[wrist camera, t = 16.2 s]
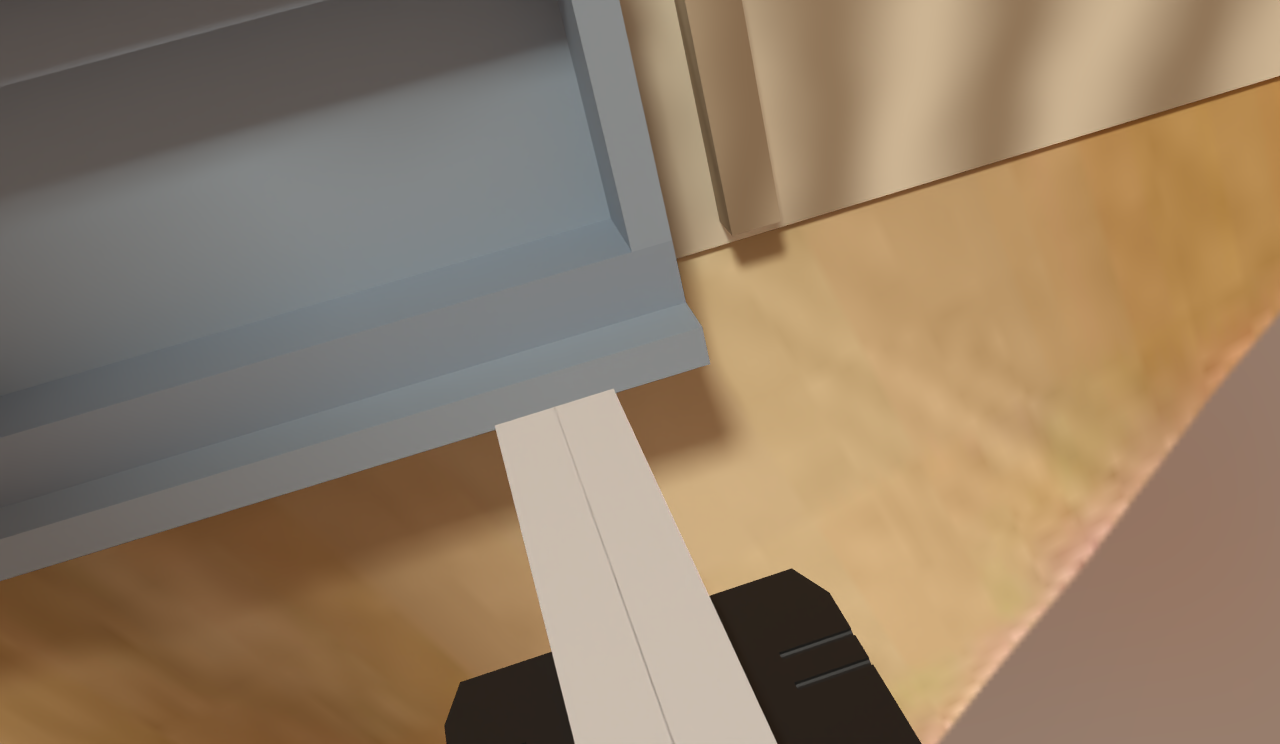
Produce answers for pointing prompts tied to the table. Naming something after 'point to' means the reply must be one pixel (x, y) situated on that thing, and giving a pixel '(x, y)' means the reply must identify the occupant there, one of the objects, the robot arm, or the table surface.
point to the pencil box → (307, 246)
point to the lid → (904, 91)
